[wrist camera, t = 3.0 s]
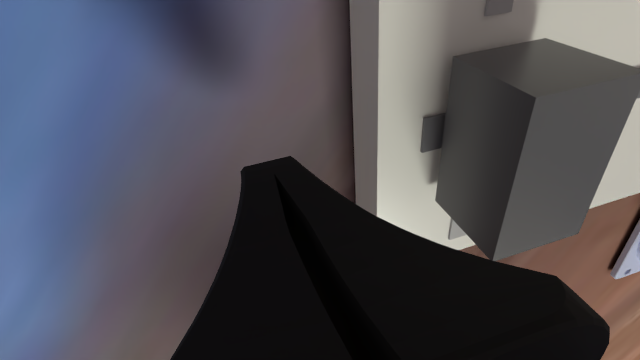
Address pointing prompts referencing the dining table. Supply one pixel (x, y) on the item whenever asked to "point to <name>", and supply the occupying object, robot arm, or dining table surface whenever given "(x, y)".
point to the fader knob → (529, 141)
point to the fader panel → (433, 87)
